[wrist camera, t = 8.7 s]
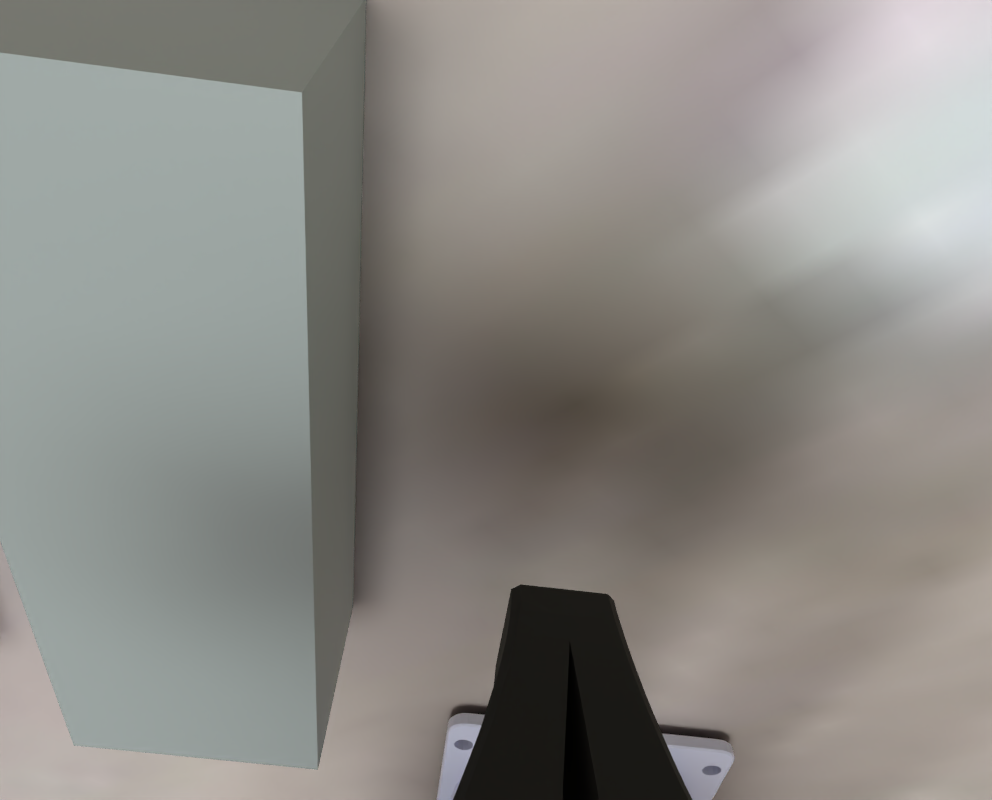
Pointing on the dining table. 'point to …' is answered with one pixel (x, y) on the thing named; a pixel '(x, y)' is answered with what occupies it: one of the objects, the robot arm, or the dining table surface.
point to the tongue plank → (183, 362)
